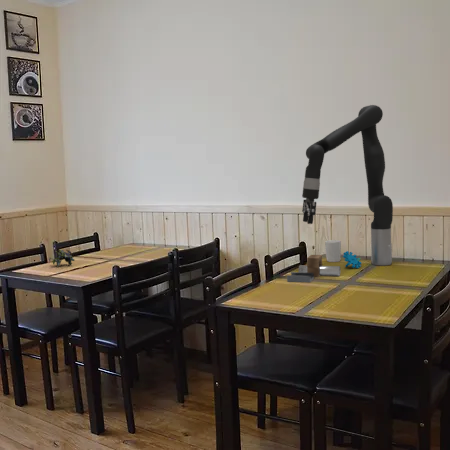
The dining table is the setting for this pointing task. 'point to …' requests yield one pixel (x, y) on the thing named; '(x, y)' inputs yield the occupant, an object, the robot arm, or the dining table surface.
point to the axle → (323, 270)
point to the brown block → (314, 264)
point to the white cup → (333, 250)
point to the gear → (352, 259)
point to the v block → (300, 277)
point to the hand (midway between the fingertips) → (307, 222)
